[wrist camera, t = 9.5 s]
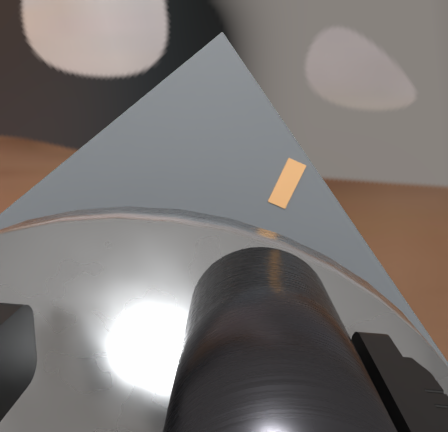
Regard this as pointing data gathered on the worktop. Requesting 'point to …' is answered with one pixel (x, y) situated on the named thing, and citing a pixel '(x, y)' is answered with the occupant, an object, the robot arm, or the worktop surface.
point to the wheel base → (210, 167)
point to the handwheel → (193, 327)
